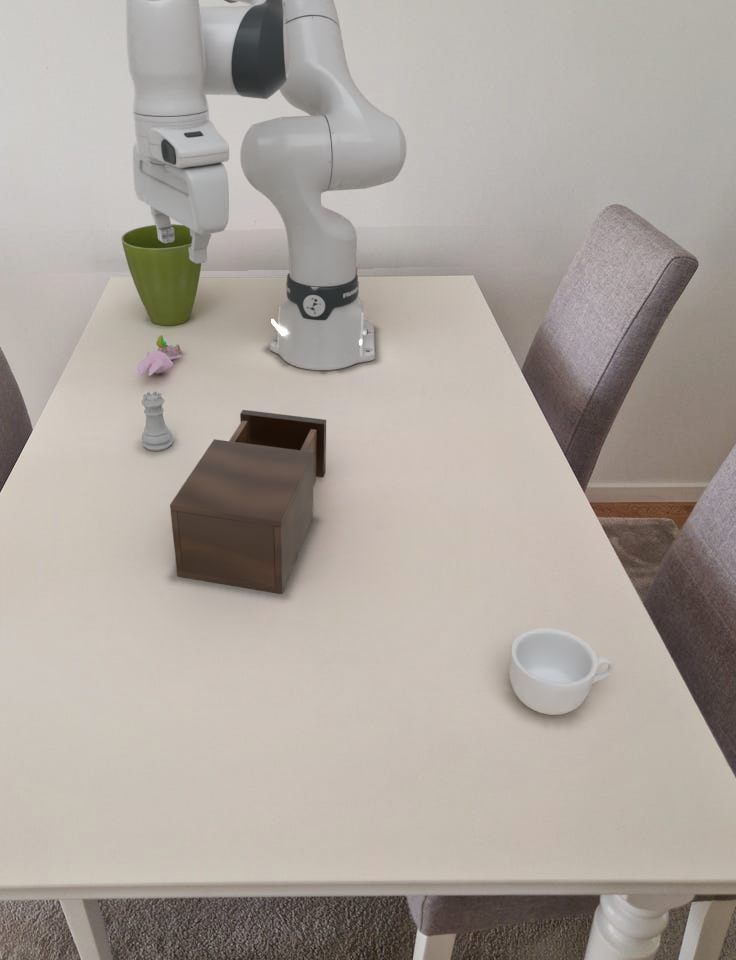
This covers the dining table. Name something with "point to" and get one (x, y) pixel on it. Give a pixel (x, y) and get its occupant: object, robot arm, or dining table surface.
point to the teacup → (554, 670)
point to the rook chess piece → (155, 424)
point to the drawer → (285, 435)
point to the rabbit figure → (159, 358)
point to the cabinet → (243, 515)
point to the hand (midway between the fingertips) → (182, 251)
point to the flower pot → (163, 273)
